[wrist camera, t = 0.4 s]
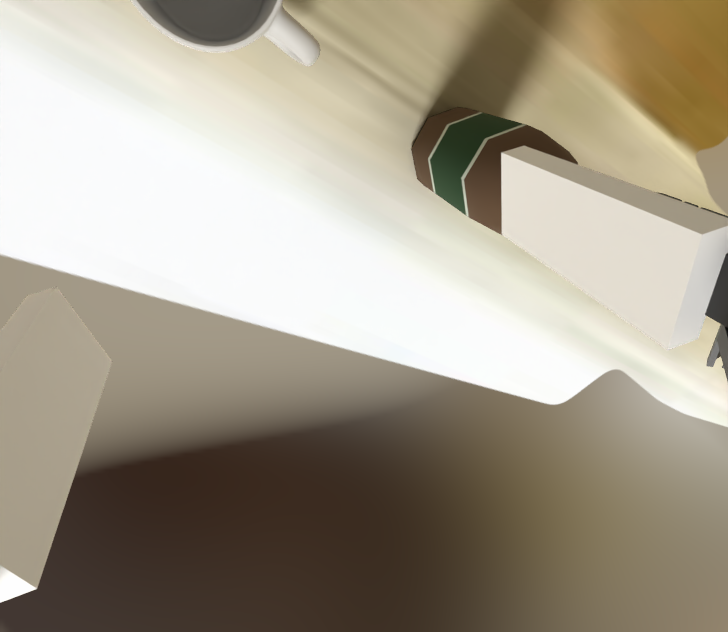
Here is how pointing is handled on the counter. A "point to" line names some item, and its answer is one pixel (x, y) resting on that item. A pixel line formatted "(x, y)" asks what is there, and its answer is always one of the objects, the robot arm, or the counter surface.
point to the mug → (230, 25)
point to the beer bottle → (473, 159)
